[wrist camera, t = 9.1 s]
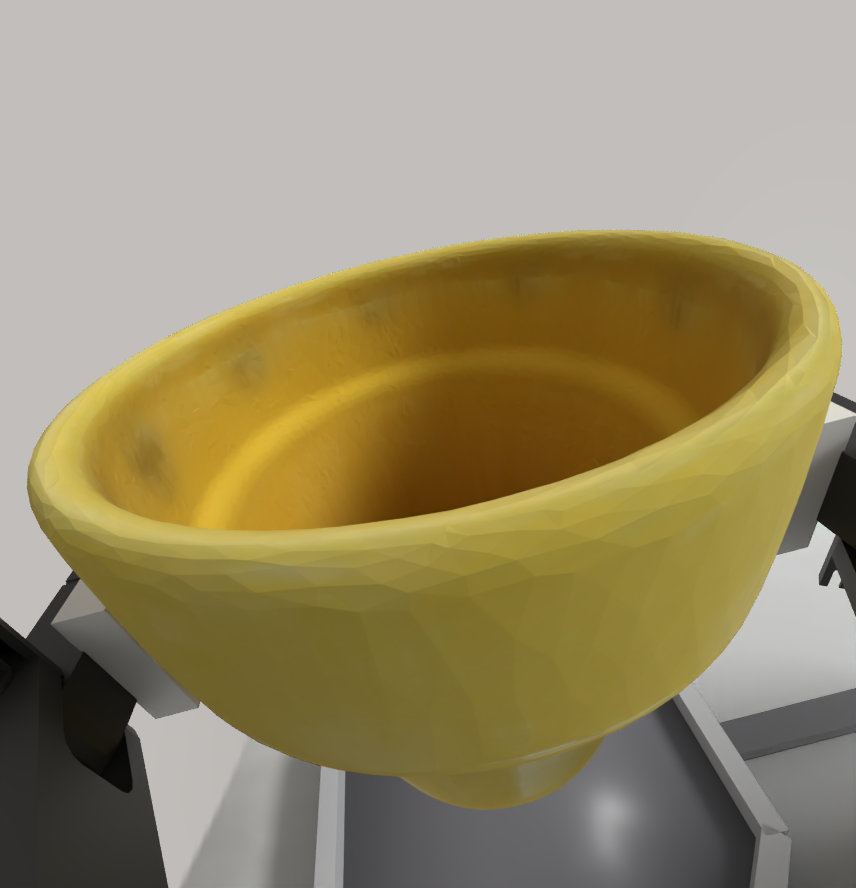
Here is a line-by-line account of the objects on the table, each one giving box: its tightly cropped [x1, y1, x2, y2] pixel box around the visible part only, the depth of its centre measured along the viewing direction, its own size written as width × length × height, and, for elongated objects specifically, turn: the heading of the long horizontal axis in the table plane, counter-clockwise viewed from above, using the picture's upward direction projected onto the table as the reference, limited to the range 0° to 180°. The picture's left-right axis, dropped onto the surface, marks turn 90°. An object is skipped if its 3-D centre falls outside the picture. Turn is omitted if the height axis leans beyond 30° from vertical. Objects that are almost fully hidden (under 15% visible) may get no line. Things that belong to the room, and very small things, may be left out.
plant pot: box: [27, 230, 842, 810], centre depth 9 cm, size 10×10×10 cm
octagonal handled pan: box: [314, 683, 856, 888], centre depth 18 cm, size 25×17×2 cm
